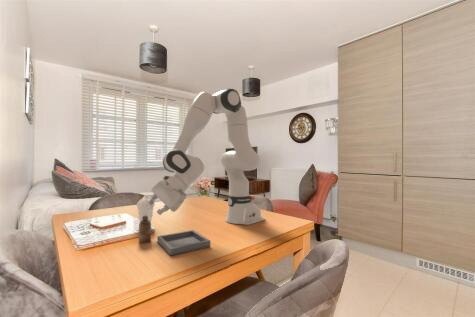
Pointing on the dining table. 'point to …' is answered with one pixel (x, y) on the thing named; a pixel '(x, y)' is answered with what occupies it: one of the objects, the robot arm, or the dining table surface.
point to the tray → (183, 242)
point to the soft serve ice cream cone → (145, 208)
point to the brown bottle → (144, 230)
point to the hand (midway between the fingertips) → (153, 208)
